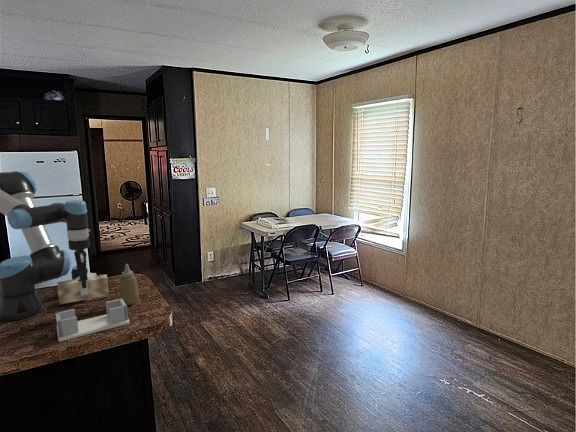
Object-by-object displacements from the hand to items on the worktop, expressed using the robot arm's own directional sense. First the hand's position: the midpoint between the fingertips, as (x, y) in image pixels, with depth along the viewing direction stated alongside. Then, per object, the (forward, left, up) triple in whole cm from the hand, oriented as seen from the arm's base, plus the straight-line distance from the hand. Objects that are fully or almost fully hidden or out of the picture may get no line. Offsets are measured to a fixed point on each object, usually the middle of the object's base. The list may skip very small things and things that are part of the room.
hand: (84, 292), depth 152 cm
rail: (0, 0, -2) cm, 2 cm away
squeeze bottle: (+14, +11, -9) cm, 20 cm away
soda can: (-17, +23, -9) cm, 30 cm away
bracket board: (+11, -11, -9) cm, 18 cm away
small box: (-9, +16, -9) cm, 21 cm away
